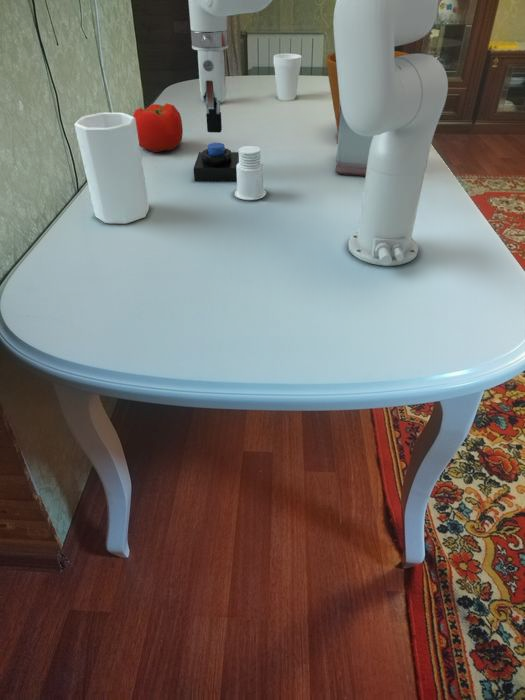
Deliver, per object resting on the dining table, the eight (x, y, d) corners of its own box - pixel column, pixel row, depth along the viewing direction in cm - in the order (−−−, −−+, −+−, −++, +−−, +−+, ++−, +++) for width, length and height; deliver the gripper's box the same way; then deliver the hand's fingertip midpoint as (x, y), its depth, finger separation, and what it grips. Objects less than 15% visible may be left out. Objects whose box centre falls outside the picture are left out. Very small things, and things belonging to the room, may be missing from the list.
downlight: (272, 198, 112) (272, 152, 105) (243, 204, 109) (241, 157, 103) (257, 185, 117) (256, 141, 111) (229, 191, 115) (226, 146, 109)
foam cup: (269, 96, 180) (270, 54, 172) (294, 94, 182) (295, 52, 174) (278, 102, 173) (279, 59, 165) (303, 100, 175) (305, 57, 167)
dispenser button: (224, 156, 119) (223, 148, 118) (207, 156, 119) (206, 148, 118) (225, 151, 122) (225, 142, 121) (209, 151, 122) (208, 142, 121)
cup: (92, 206, 109) (71, 115, 97) (144, 199, 112) (130, 109, 100) (98, 228, 101) (76, 131, 89) (154, 219, 104) (140, 125, 92)
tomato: (151, 160, 131) (145, 117, 124) (127, 147, 138) (120, 106, 132) (195, 149, 137) (192, 107, 130) (170, 137, 145) (165, 97, 138)
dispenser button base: (236, 181, 119) (236, 160, 116) (194, 181, 120) (192, 160, 116) (239, 164, 128) (238, 144, 125) (199, 164, 128) (198, 144, 125)
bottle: (374, 178, 121) (394, 30, 101) (331, 175, 122) (343, 29, 103) (376, 157, 132) (395, 20, 112) (336, 155, 133) (348, 20, 114)
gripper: (224, 46, 100) (228, 142, 112) (229, 34, 111) (232, 121, 123) (186, 46, 100) (194, 141, 112) (195, 33, 112) (202, 121, 123)
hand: (214, 131), depth 118 cm, fingers closed
